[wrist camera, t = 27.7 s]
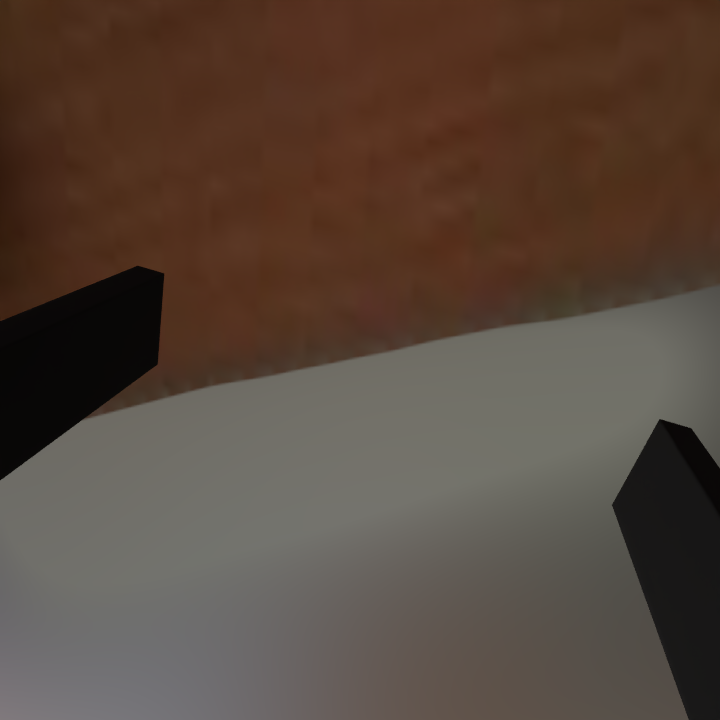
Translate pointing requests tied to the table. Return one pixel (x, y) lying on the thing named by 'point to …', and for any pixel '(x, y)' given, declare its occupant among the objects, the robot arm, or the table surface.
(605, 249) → the table surface
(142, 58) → the table surface
